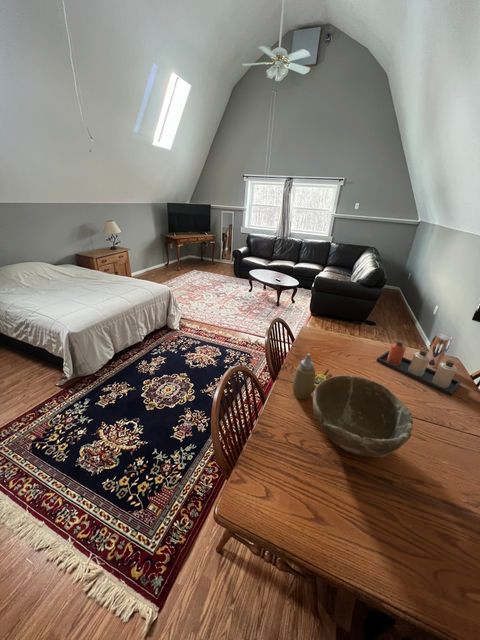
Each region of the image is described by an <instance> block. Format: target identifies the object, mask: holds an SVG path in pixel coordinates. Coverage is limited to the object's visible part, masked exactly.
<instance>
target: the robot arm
mask: <svg viewBox="0 0 480 640" xmlns="http://www.w3.org/2000/svg"><path fill="white" fill-rule="evenodd" d="M477 304H478V307H477V308H476V310H475V311H474V313H473V315H472V318H471V320H472V321H473V322H478V323H480V298H479V299H478V302H477Z"/></svg>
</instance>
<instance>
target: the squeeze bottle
mask: <svg viewBox="0 0 480 640" xmlns="http://www.w3.org/2000/svg"><path fill="white" fill-rule="evenodd" d="M314 366H315V363H314V362H313V361H312V355H311V353H307V354H306V356H305V357H304V359H302V360H301V361H300V364H298V365H297V366H296V370H295V374H294V378H293V381H292V383H291V384H292V386H291V387H292V390H293V394H294V396H296V397H297V398H298V399H301V400H306V399H307V400H308V399H309V398H310V396H311V395H312V393H314V391H315V388H314V383H315V376H316V368H315V367H314Z"/></svg>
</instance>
